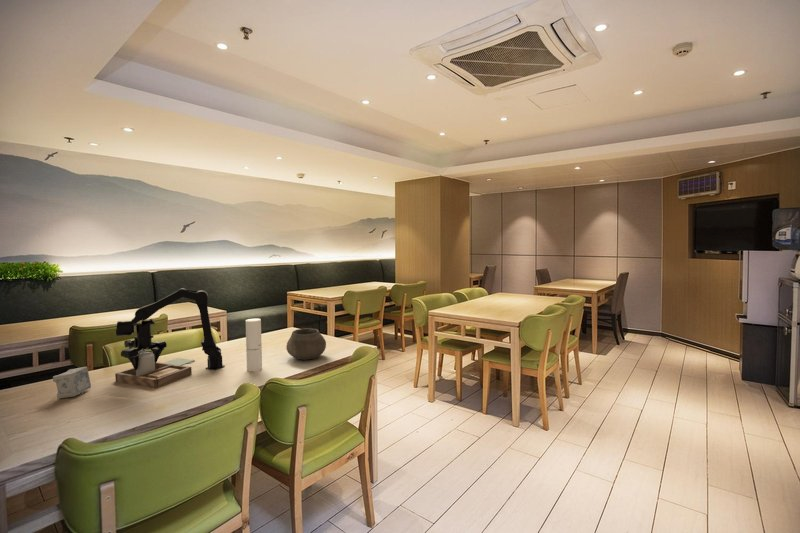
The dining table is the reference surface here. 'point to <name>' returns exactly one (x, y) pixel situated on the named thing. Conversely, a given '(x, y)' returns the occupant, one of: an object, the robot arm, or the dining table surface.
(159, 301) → the robot arm
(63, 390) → the grey stone block
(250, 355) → the cylindrical container
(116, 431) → the dining table surface
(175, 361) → the mat
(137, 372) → the can
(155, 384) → the wooden divided tray
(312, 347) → the clay pot
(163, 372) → the offcut top
